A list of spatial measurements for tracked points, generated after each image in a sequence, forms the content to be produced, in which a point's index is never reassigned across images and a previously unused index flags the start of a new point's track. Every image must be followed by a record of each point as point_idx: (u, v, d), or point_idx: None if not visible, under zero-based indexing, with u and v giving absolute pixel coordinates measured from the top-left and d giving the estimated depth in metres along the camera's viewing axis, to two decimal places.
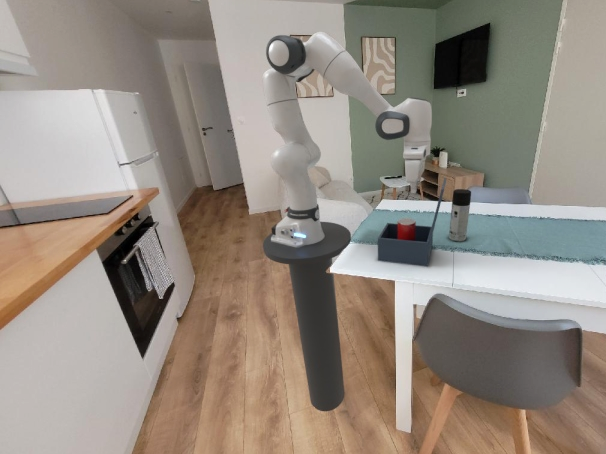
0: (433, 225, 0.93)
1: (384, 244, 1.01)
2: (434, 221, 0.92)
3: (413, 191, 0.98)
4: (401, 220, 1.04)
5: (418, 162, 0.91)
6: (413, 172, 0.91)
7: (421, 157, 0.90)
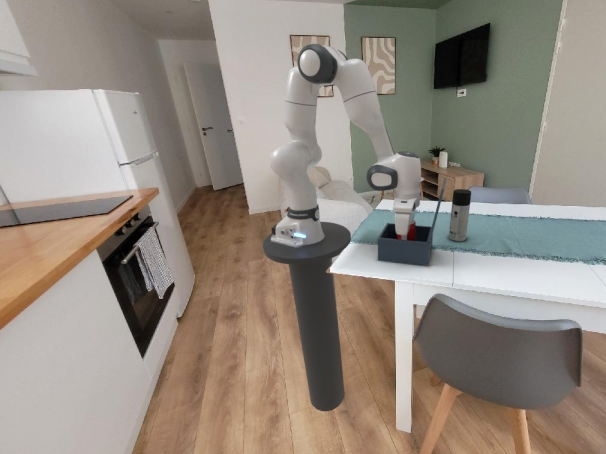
0: (433, 225, 0.93)
1: (384, 244, 1.01)
2: (434, 221, 0.92)
3: (404, 239, 1.01)
4: None
5: (407, 216, 0.93)
6: (403, 225, 0.93)
7: (410, 212, 0.92)
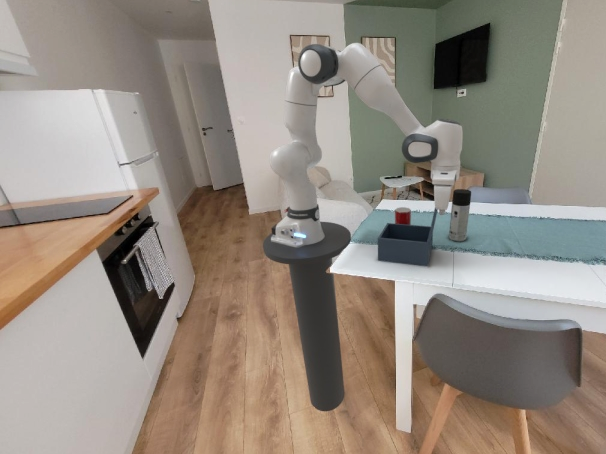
0: (432, 225, 0.93)
1: (384, 244, 1.01)
2: (433, 221, 0.92)
3: (441, 213, 0.96)
4: (398, 209, 1.18)
5: (449, 189, 0.85)
6: (443, 198, 0.86)
7: (452, 183, 0.85)
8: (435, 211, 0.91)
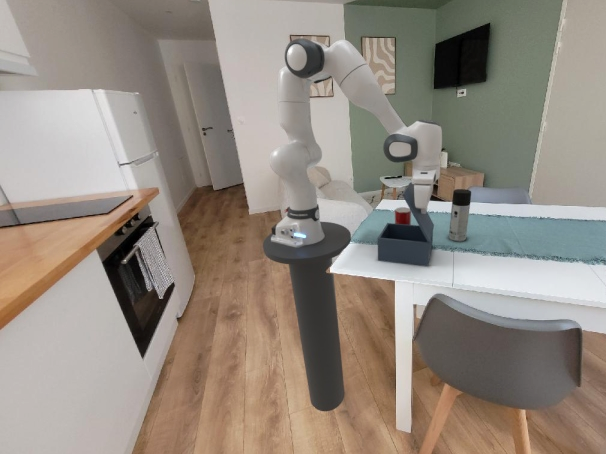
0: (420, 226, 0.94)
1: (384, 244, 1.01)
2: (418, 222, 0.94)
3: (423, 212, 0.98)
4: (398, 209, 1.18)
5: (428, 188, 0.87)
6: (423, 197, 0.88)
7: (431, 183, 0.87)
8: (413, 213, 0.93)
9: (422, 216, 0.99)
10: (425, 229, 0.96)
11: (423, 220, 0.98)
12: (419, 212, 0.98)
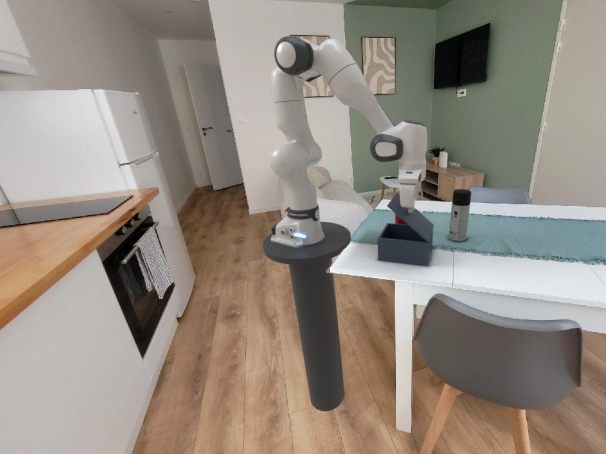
0: (415, 229, 0.95)
1: (384, 244, 1.01)
2: (412, 226, 0.95)
3: (410, 211, 1.00)
4: None
5: (413, 187, 0.88)
6: (408, 197, 0.89)
7: (416, 182, 0.88)
8: (404, 220, 0.95)
9: (416, 220, 1.00)
10: (421, 231, 0.97)
11: (417, 224, 0.99)
12: (411, 217, 1.00)
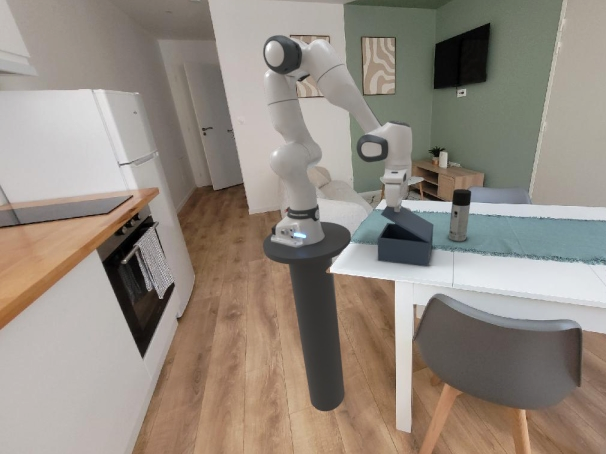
0: (412, 232, 0.96)
1: (384, 244, 1.01)
2: (409, 230, 0.96)
3: (396, 210, 1.01)
4: None
5: (398, 187, 0.90)
6: (393, 196, 0.91)
7: (401, 182, 0.90)
8: (400, 225, 0.96)
9: (413, 223, 1.01)
10: (420, 232, 0.97)
11: (415, 226, 0.99)
12: (408, 221, 1.01)
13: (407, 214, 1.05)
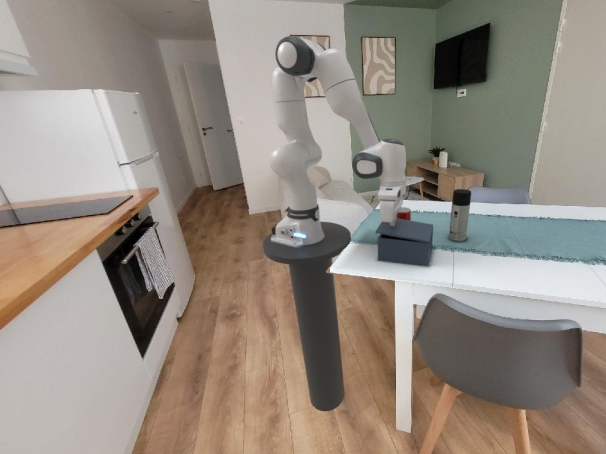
0: (410, 238, 0.97)
1: (384, 244, 1.01)
2: (406, 237, 0.97)
3: (392, 224, 1.04)
4: None
5: (392, 203, 0.93)
6: (388, 212, 0.93)
7: (395, 199, 0.92)
8: (396, 235, 0.98)
9: (410, 229, 1.02)
10: (418, 236, 0.98)
11: (412, 232, 1.01)
12: (404, 229, 1.02)
13: (403, 223, 1.07)
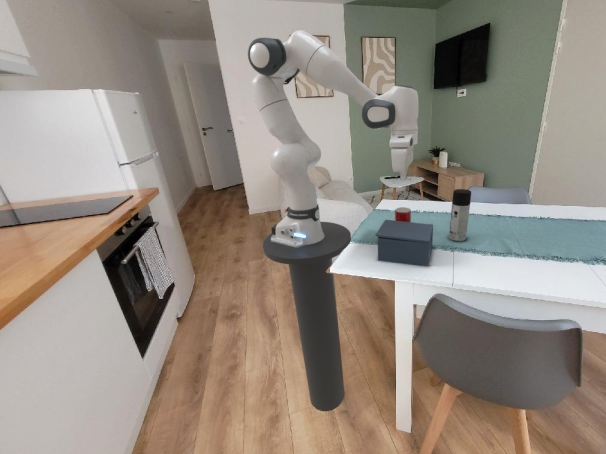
0: (410, 239, 0.97)
1: (384, 244, 1.01)
2: (406, 239, 0.98)
3: (403, 178, 1.00)
4: (398, 209, 1.18)
5: (404, 151, 0.89)
6: (400, 160, 0.90)
7: (407, 146, 0.89)
8: (396, 238, 0.99)
9: (410, 231, 1.03)
10: (418, 237, 0.98)
11: (412, 233, 1.01)
12: (404, 231, 1.02)
13: (403, 225, 1.07)
